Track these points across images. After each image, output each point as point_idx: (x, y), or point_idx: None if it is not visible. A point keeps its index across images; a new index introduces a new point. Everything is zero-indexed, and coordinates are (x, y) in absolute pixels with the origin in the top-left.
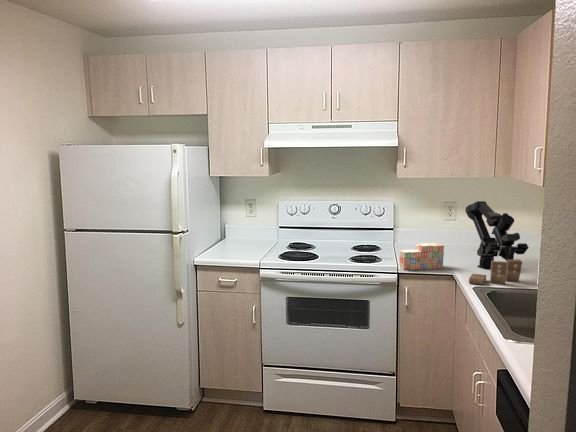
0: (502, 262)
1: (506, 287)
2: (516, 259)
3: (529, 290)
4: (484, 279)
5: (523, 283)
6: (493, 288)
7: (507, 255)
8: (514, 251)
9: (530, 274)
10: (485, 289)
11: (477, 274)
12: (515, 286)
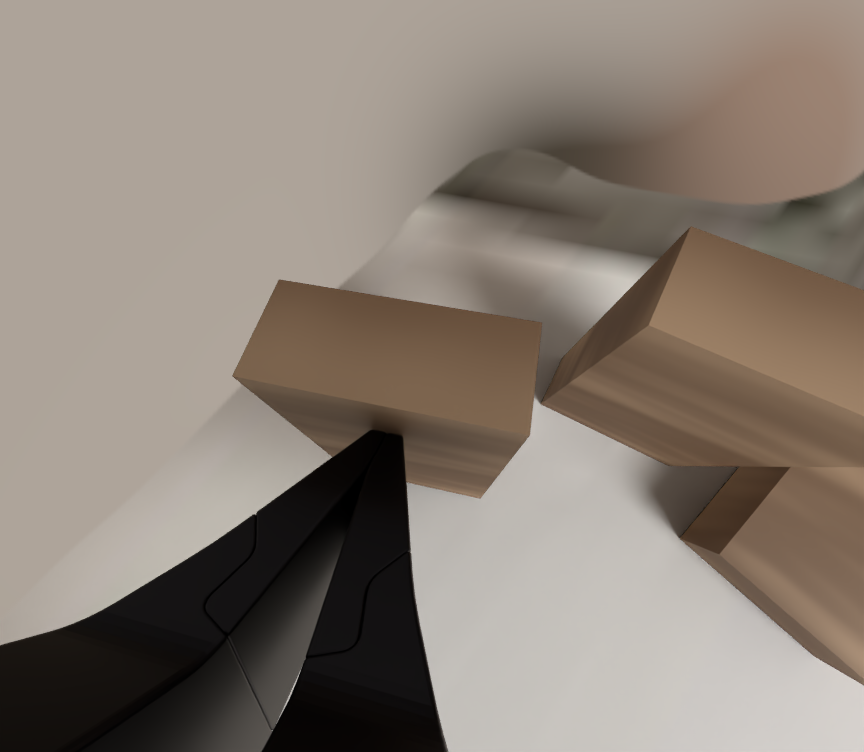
0: (765, 268)
1: (613, 272)
2: (300, 388)
3: (478, 170)
4: None
5: None
6: None
7: (407, 591)
8: (21, 640)
9: (40, 618)
10: (848, 259)
11: (834, 620)
12: (512, 281)
